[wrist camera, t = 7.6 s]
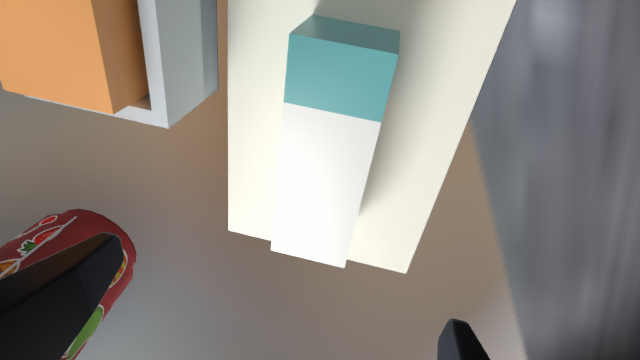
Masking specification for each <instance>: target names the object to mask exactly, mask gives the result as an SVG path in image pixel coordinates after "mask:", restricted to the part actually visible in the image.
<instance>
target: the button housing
mask: <svg viewBox="0 0 640 360" xmlns="http://www.w3.org/2000/svg"><path fill="white" fill-rule="evenodd" d="M137 2H138V10H139V17H140V25H141V33H142V40H143V48H144V55H145V63H146V71H147V78H148V86H149V93H148V94H147V95H145V96H143V97H142V98H140V99H139V100H137V101H135V102H134V103H132V104H130V105H129V106H127V107H125V108H124V109H122V110H120V111H119V112H117V113H115V114H114V115H113V114H108V113H104V112H99V111H95V110H90V109H86V108H81V107H77V106H72V105H68V104H63V103H59V102H54V101H50V100H45V99H41V98H36V97H32V96H28V95H24V96H25V97H29V98H34V99H38V100H43V101H47V102H52V103H56V104H60V105H65V106H69V107H74V108H78V109H83V110H87V111H92V112H96V113H101V114H105V115H110V116H114V117H119V118H123V119H127V120H132V121H136V122H141V123H145V124H150V125H154V126H159V127H163V128H168V129H169V128H170V127H171V126H173V125H174V124H175V123H176V122H178V121H179V120H180V119H181V118H182V117H184V116H185V115H186V114H188V113H189V112H190V111H191V110H193V109H194V108H195V107H196V106H197V105H199V104H200V103H201V102H202V101H204V100H205V99H206V98H207V97H209V96H210V95H211V94H212V93H214V92H215V91H216V90H217V89H218V51H217V50H218V47H217V46H218V45H217V0H137Z"/></svg>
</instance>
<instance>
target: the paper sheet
mask: <svg viewBox="0 0 640 360" xmlns="http://www.w3.org/2000/svg"><path fill="white" fill-rule="evenodd" d="M515 3H516V0H228V217H229V218H228V230H229V231H233V232H237V233H241V234H245V235H249V236H254V237H258V238H262V239H266V240H270V241H272V231H273V219H274V207H275V195H276V183H277V172H278V160H279V148H280V136H281V125H282V113H283V101H284V89H285V78H286V66H287V54H288V42H289V33H290V32H291V31H293V30H294V29H295V28H296V27H298V26H299V25H300V24H301V23H303V22H304V21H305V20H306V19H307V18H309V17H310V16H311V15H318V16H323V17H328V18H334V19H339V20H344V21H350V22H355V23H360V24H366V25H371V26H376V27H382V28H387V29H392V30H398V31H400V43H399V56H398V60H397V64H396V68H395V71H394V75H393V79H392V83H391V87H390V91H389V95H388V99H387V103H386V107H385V111H384V115H383V119H382V122H381V126H380V130H379V134H378V138H377V142H376V146H375V150H374V154H373V158H372V162H371V166H370V169H369V173H368V177H367V181H366V185H365V189H364V193H363V197H362V201H361V205H360V209H359V213H358V217H357V220H356V224H355V228H354V232H353V236H352V240H351V244H350V248H349V252H348V256H347V259H348V260H352V261H356V262H360V263H364V264H368V265H372V266H376V267H381V268H385V269H389V270H393V271H397V272H401V273H405V274H406V272H407V270H408V267H409V265H410V262H411V260H412V257H413V255H414V253H415V250H416V247H417V245H418V243H419V240H420V238H421V235H422V233H423V230H424V228H425V225H426V223H427V220H428V218H429V215H430V213H431V210H432V208H433V206H434V203H435V201H436V198H437V196H438V193H439V191H440V188H441V186H442V183H443V181H444V178H445V176H446V173H447V171H448V168H449V166H450V163H451V161H452V158H453V156H454V154H455V151H456V149H457V146H458V143H459V141H460V139H461V136H462V134H463V131H464V129H465V126H466V124H467V121H468V119H469V116H470V114H471V111H472V109H473V107H474V104H475V102H476V99H477V97H478V94H479V92H480V89H481V87H482V84H483V82H484V79H485V77H486V74H487V72H488V69H489V67H490V64H491V62H492V60H493V57H494V55H495V52H496V50H497V47H498V45H499V42H500V40H501V37H502V35H503V32H504V30H505V27H506V25H507V22H508V20H509V17H510V15H511V12H512V10H513V8H514V5H515Z"/></svg>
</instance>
